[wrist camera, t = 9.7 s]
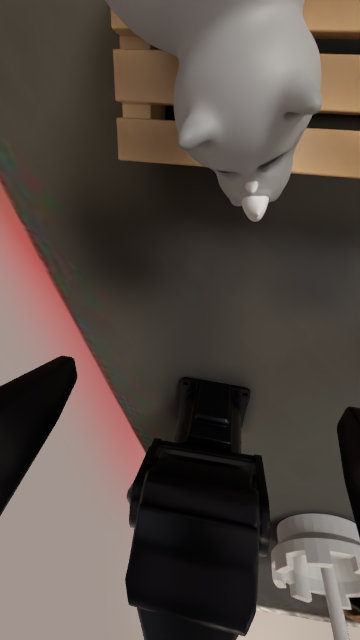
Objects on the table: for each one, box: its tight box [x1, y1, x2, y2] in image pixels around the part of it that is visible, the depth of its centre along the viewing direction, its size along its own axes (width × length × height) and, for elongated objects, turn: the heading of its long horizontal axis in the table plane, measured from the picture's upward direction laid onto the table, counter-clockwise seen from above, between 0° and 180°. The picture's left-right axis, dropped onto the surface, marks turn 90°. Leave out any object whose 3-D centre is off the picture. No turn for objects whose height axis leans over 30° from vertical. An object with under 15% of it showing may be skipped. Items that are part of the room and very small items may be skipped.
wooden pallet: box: [111, 0, 360, 179], centre depth 12 cm, size 9×18×4 cm, turn 87°
